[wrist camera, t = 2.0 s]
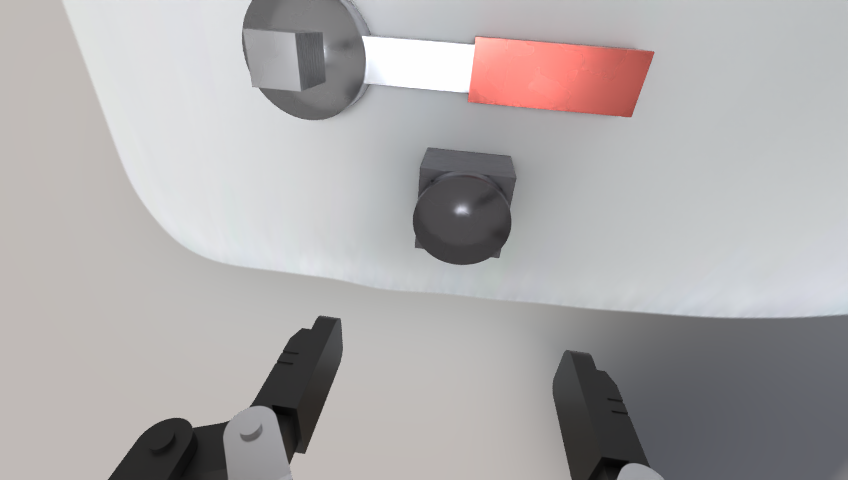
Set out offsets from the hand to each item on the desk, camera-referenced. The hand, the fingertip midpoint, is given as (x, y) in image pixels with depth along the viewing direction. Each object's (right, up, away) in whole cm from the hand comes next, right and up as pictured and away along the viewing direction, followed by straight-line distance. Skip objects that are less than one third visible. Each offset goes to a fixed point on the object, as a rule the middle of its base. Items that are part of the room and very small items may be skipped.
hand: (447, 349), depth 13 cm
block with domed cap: (+2, +8, +13) cm, 15 cm away
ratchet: (0, +15, +9) cm, 17 cm away
